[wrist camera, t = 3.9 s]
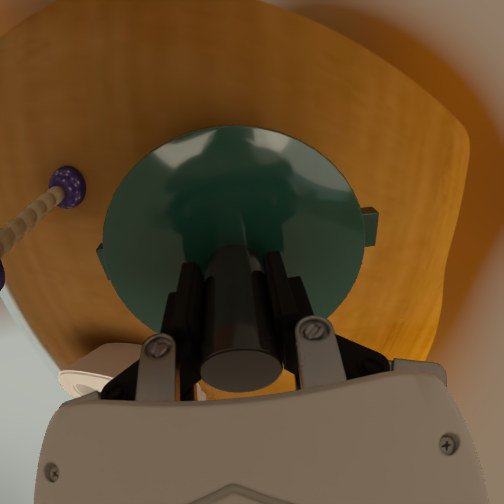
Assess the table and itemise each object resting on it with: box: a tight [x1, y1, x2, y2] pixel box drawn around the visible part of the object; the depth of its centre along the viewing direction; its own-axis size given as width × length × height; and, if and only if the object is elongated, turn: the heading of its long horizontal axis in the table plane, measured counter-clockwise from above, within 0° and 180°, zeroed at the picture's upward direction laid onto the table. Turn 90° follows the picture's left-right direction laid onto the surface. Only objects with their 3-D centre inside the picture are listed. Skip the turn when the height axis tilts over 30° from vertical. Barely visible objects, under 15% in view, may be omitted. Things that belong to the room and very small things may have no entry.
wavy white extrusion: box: [58, 343, 206, 401], centre depth 35 cm, size 35×16×10 cm, turn 11°
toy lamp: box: [0, 166, 85, 291], centre depth 14 cm, size 5×5×17 cm
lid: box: [102, 124, 365, 392], centre depth 11 cm, size 14×14×7 cm
